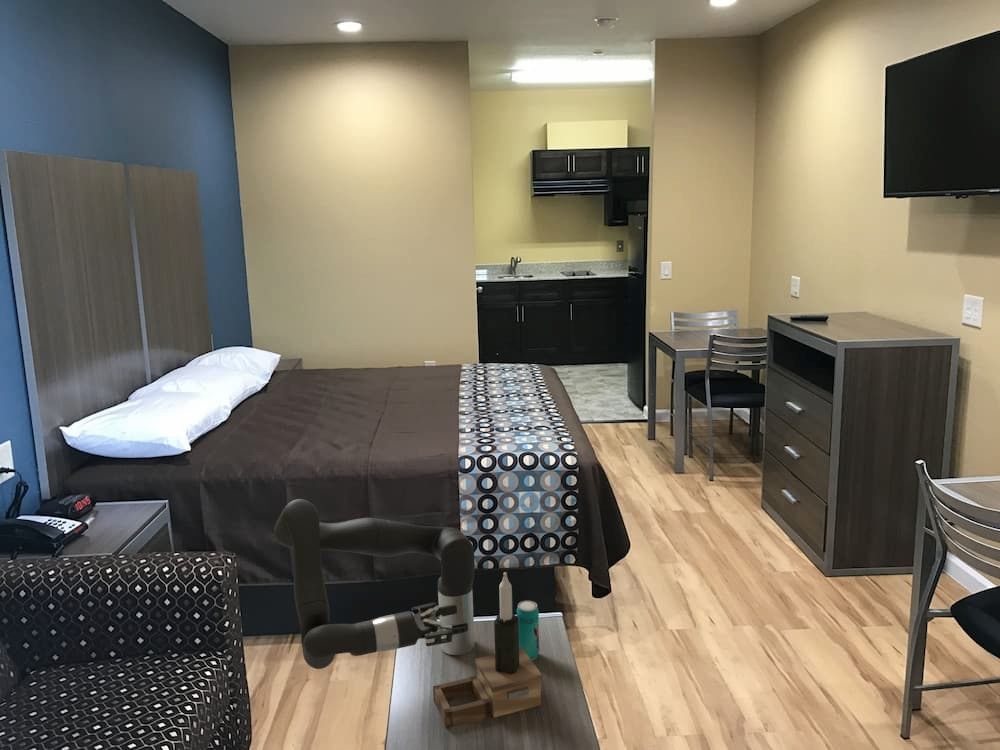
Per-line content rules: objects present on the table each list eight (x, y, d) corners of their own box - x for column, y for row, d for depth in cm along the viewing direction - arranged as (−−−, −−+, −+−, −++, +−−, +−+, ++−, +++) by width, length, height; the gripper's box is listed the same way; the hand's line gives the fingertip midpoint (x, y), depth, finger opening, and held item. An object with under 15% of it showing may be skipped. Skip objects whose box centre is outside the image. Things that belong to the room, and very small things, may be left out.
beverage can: (537, 663, 203) (536, 611, 200) (515, 661, 205) (514, 610, 201) (540, 651, 209) (539, 600, 206) (519, 649, 210) (518, 599, 207)
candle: (520, 663, 190) (518, 569, 184) (514, 675, 185) (512, 578, 180) (500, 659, 191) (498, 566, 186) (494, 671, 187) (491, 575, 181)
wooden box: (432, 697, 191) (430, 667, 189) (521, 675, 199) (521, 646, 197) (448, 732, 178) (447, 700, 176) (543, 707, 186) (543, 676, 184)
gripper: (399, 632, 168) (470, 617, 174) (385, 602, 181) (452, 588, 187) (401, 663, 170) (472, 647, 175) (387, 631, 183) (453, 617, 189)
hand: (461, 617), depth 181 cm, fingers open, 8 cm apart
